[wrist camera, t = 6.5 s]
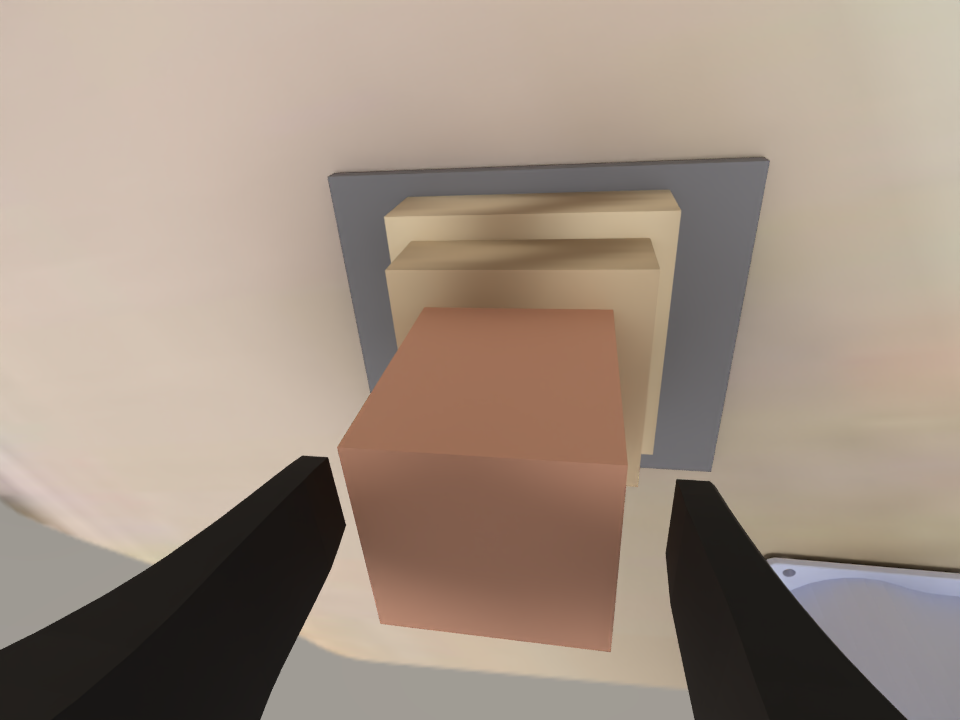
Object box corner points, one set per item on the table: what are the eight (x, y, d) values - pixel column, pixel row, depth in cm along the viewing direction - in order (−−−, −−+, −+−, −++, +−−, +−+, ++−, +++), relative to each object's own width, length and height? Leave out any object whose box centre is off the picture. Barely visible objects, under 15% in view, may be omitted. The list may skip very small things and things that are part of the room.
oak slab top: (650, 238, 15) (660, 269, 13) (632, 436, 19) (637, 486, 17) (411, 241, 16) (385, 270, 14) (435, 426, 20) (417, 472, 18)
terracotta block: (613, 309, 14) (627, 465, 9) (603, 461, 16) (610, 651, 11) (424, 307, 15) (337, 447, 10) (442, 451, 17) (380, 623, 12)
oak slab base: (669, 189, 17) (681, 210, 15) (646, 413, 21) (652, 454, 19) (407, 197, 18) (384, 217, 16) (434, 404, 23) (418, 441, 20)
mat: (764, 157, 16) (769, 160, 16) (708, 462, 22) (711, 471, 22) (334, 173, 19) (327, 176, 18) (386, 443, 25) (382, 451, 24)
